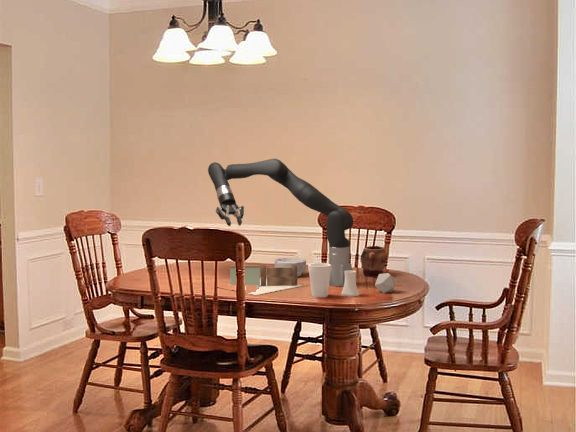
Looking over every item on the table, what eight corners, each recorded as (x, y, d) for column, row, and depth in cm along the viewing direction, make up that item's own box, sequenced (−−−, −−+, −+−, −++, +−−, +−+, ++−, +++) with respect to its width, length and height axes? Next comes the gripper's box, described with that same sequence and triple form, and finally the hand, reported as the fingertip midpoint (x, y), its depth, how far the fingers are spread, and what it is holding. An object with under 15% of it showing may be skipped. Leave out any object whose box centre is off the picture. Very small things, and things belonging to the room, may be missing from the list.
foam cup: (312, 298, 281) (312, 267, 279) (305, 294, 289) (305, 263, 288) (334, 297, 283) (334, 265, 282) (327, 293, 292) (326, 262, 291)
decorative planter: (384, 280, 320) (385, 250, 318) (358, 279, 322) (358, 249, 321) (387, 272, 339) (387, 244, 338) (362, 272, 341) (362, 244, 340)
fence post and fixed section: (297, 284, 309) (297, 264, 308) (297, 285, 306) (297, 265, 305) (260, 285, 309) (260, 264, 308) (260, 286, 306) (260, 265, 305)
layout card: (302, 286, 307) (302, 285, 307) (255, 295, 287) (255, 294, 287) (262, 279, 325) (262, 278, 325) (216, 287, 306) (216, 286, 306)
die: (387, 290, 299) (374, 273, 298) (403, 282, 294) (389, 265, 293) (382, 300, 293) (368, 283, 292) (397, 293, 288) (383, 275, 286)
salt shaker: (362, 294, 288) (362, 270, 287) (352, 297, 282) (352, 273, 281) (348, 292, 293) (348, 269, 292) (337, 295, 287) (337, 271, 286)
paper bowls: (306, 278, 326) (306, 261, 325) (274, 278, 326) (273, 262, 325) (306, 273, 341) (306, 257, 340) (275, 273, 341) (275, 257, 340)
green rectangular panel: (259, 284, 308) (259, 265, 307) (259, 285, 307) (259, 265, 306) (230, 284, 308) (230, 265, 307) (230, 285, 307) (230, 266, 306)
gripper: (213, 192, 324) (222, 220, 314) (241, 191, 330) (251, 218, 320) (209, 203, 330) (218, 230, 320) (237, 201, 336) (247, 229, 326)
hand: (235, 224), depth 320 cm, fingers open, 4 cm apart
